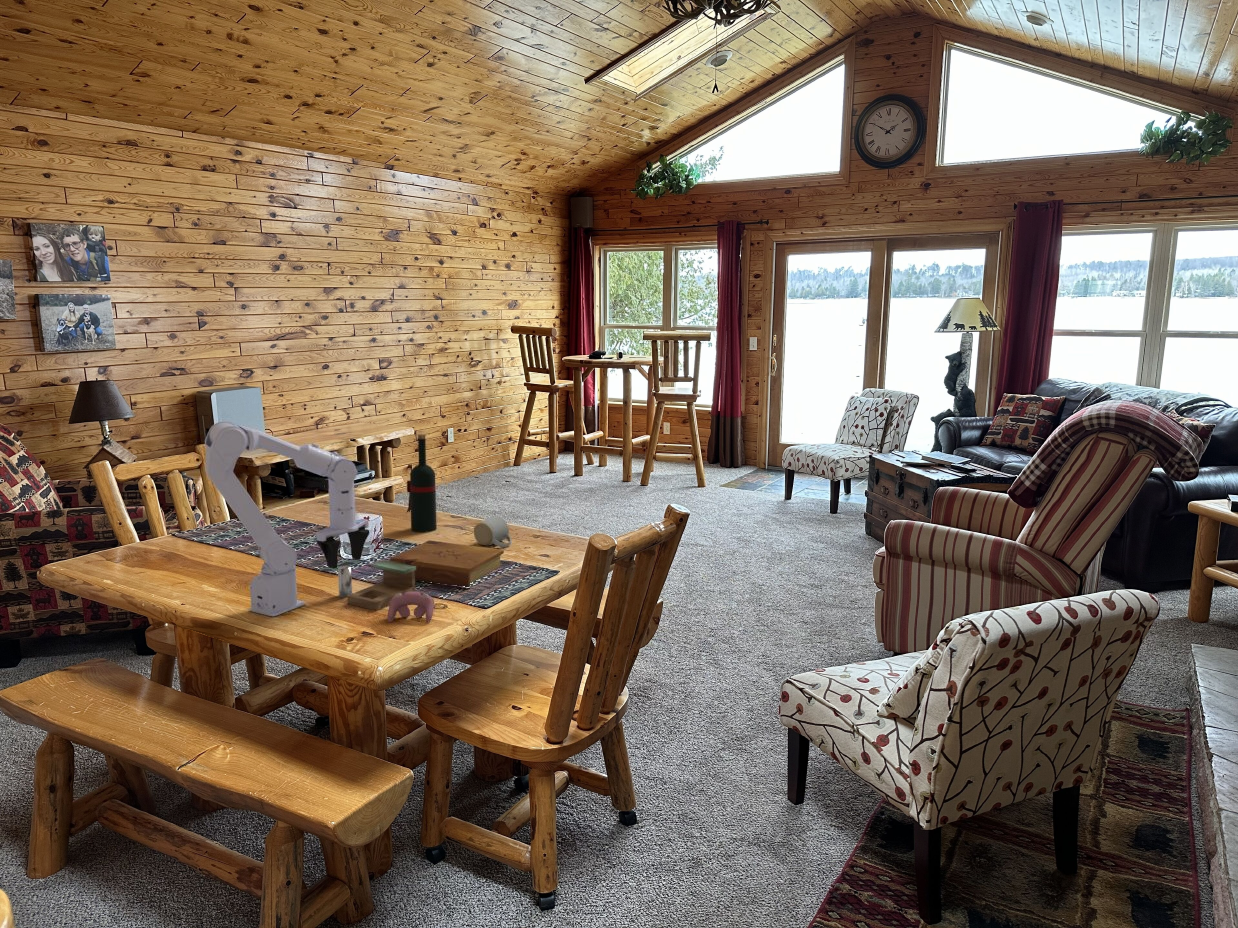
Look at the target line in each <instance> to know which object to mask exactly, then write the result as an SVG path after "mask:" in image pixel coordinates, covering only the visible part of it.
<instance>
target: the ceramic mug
mask: <svg viewBox="0 0 1238 928" xmlns="http://www.w3.org/2000/svg"><path fill="white" fill-rule="evenodd" d="M509 528H510V527H509V525H508V523H507V521H506V520H505V519H504V518H503V517H501V515H493V516H491V517H489V518H486V519H485V520H482V521H480V522H478V523H477V524H476V525H475V527H474V530H473V535H474V538H475V540H476V543H478V544H480V545H481V546H483V547H485V546H486V547H487V546H491V545H493V544H494V545H495V546H496V547H499V548H508V547H510V546H511V542H512V538H511V536H510V529H509ZM505 540H507V542H502V541H505ZM509 545H510V546H509ZM507 546H508V547H507Z"/></svg>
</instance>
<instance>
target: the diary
mask: <svg viewBox="0 0 1238 928" xmlns="http://www.w3.org/2000/svg"><path fill="white" fill-rule="evenodd" d="M504 552H505V551H504V549H501V548H500V549H498V548H491V547H485V546H478V545H477V546H475V545H468V544H460V543H453V542H445V541H436V540H427V541H425V542H423V543H421V544H418V545H415V546H414V547H412V548H409V549H407V550H405V551H403V552H401V553H398V554H396V555H394V556H391V557H390V559H389V561H391V562H396V563H401V564H406V565H411V566H416V570H415V580H417V581H416V582H418V581H424V582H423V583H425V582H432V583H440V584H447V585H457V586H465V587H469V586H470V583H472V582H474V581H476V580H478V579H480V578H482V577H484V576H485V575H487V574H489V573H490V572H492V571H493V570H496V569H498V568H499V567H500V566H501V567H502V565H501V556H502V555H503V554H504ZM432 583H431V584H432Z"/></svg>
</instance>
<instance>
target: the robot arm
mask: <svg viewBox="0 0 1238 928" xmlns="http://www.w3.org/2000/svg"><path fill="white" fill-rule="evenodd" d="M204 447H205V469H204V470H205V473H206V476H207V477H208V478H209V480H210V481H211V482H212V484H213V485H214V487H215V489H217V491H218V492H219V493H220V495H221V496H222V497H223V499H224V500H225V502H226V503H227V505H229V507H230V509H231V510H232V512H233V513H234V514H235V515H236V517H237V518H238V519H239V521H240V522H241V524H242V525H243V526H244V528H245V529H246V531H247V532H248V534H249V535H250V536H251V537H252V539H253V541H254V542H255V544H256V546H257V548H258V555H259V557H260V559H261V560H263V564H262V566H261V568H260V570H261V571H260V573H259V574H258V575H256V576H254V577H253V578H251V580H250V582H249V583H250V584H249V589H250V591H249V593H250V594H249V595H250V608H248V611H250V612H254V613H257V614H261V615H264V616H268V617H277V616H279V615H282V614H284V613H287V612H290V611H292V610H294V609H297V608H300V607H302V606H306V604H307V602H306V601H303V600H298V587H297V584H298V583H297V570H296V568H297V566H296V564H297V561H298V554H297V551H296V550H295V548H293V547H292V546H290V545H289V544H288V543H287V542H286V540H285V539H284V538H282V537H280V536H279V535H278V533H277V532H276V530H274V528H273V526H272V525H271V524H270V523H269V521H268V520H267V518H266V517H265V514H263V512H262V510H261V509H260V508H259V507H258V505H257V504H256V503H255V501H254V500H253V499H252V497H251V496H250V494H249V492H248V491H247V490H246V488H245V487H244V486H243V485H242V483H241V481H240V480H239V478H238V476H236V474H235V473H234V471H235V470H234V469H235V466H236V463H237V461H238V459H239V458H240V456H241V455H242V454H243V453H244V452H245V450H247V451H248V452H250V451H251V452H252V451H255V450H259V449H262V450H265V451H268V452H271V453H273V454H277V455H279V456H282V457H286V458H288V459H292V460H293V461H294V464H295V465H296V467H297V468H299V469H302V470H305V471H308V472H310V473H313V474H316V475H319V476H322V477H327V478H328V507H329V510H328V511H329V526H327V527H325V528H324V529H321V530H319V531H316V544H317V545H318V546H319V548H320V549H321V551H322V554H323V555H324V558H325V561H326V563H327V567H328V569H329V568H330V569H335V570H336V569H338V563H339V562H338V558H339V557H338V556H339V555H338V552H339V548H340V545H341V541H340V540H336V538H335V537H339V536H341V535H345V534H347V536H348V540H349V543H350V544H349V545H350V554H351V555H350V556H351V558H352V560H355V561H356V560H357V561H360V560H361V559H362V554H363V550H364V546H365V544H366V542H367V539H368V538H369V536H370V529H368V528H369V527H370V526H369V519H366V518H361V519H356V499H355V498H356V495H355V493H356V492H355V479H356V478H357V476H358V469H357V468H356V464H355V463H354V462H353V461H352V460H350V459H348V458H346V457H344V456H342V455H340V454H339V453H338V452H336V451H333V452H331V451H328V450H325V449H323V448H321V447H320V445H319V444H316V443H314V442H312V443H311V444H309V443H304V444H303V445H296V444H293V443H291V442H288V441H286V440H283V439H281V438H278V437H276V436H273V435H271V434H269V433H267V432H264V431H261V430H259V429H257V428H252V427H248V426H245V425H241V424H237V425H235V424H234V423H232V422H230V421H225V420H223V421H222V420H221V421H218V422H215V423H214V424H212V426H211V427H210V428H209V430H208V432H207V434H206V437H205V439H204Z"/></svg>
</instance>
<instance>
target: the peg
mask: <svg viewBox="0 0 1238 928" xmlns="http://www.w3.org/2000/svg"><path fill="white" fill-rule="evenodd" d="M337 574H338V575H337V578H338V597H339V598H343V599H344V598H345V599H347V595H350V594H352V593H353V578H352V566H351V565H340V566H337Z"/></svg>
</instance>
